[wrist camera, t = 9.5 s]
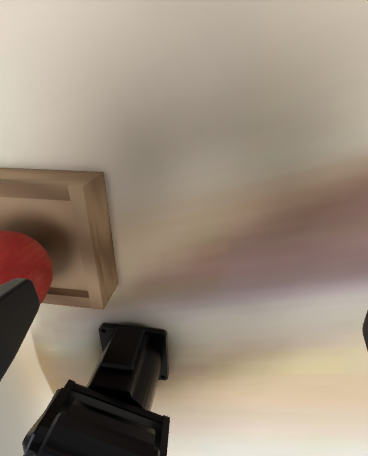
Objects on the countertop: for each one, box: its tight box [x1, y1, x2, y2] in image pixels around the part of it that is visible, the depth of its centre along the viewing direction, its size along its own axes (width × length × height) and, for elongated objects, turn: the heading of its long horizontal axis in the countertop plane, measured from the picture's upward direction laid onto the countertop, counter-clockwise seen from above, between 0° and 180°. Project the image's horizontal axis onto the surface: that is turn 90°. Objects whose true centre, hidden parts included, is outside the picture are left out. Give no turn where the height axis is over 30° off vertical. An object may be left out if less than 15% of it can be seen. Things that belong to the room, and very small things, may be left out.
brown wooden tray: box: [0, 168, 118, 310], centre depth 23 cm, size 10×10×3 cm
